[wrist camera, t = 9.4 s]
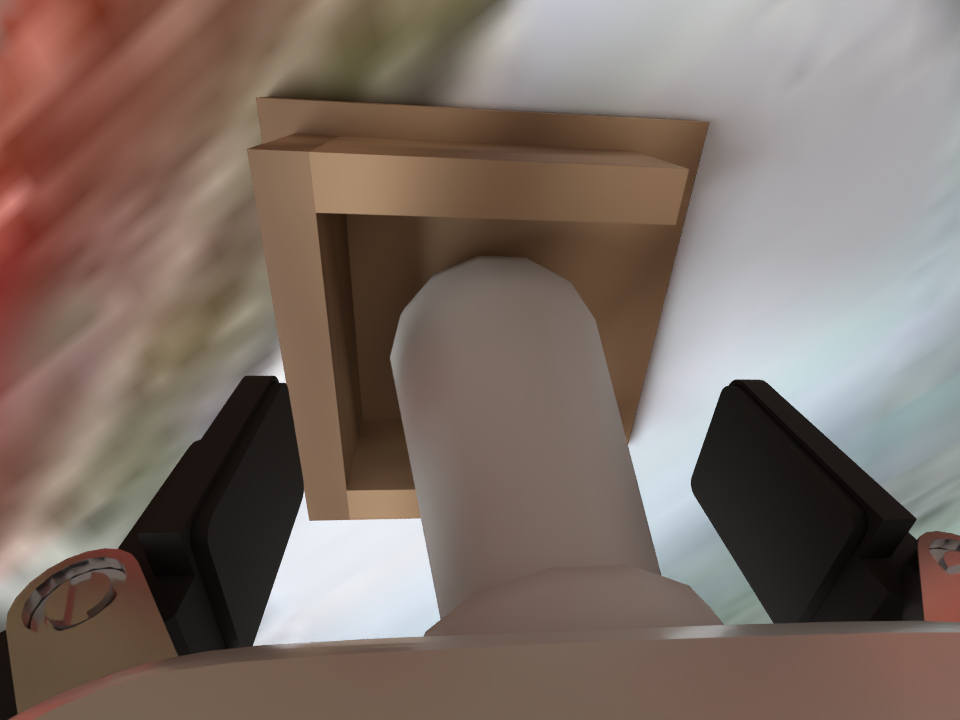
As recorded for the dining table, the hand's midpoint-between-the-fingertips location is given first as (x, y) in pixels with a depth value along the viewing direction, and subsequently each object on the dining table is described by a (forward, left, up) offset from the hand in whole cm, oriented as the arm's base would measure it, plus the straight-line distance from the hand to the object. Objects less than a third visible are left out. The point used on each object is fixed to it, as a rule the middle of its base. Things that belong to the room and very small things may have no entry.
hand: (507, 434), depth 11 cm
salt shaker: (0, 0, -6) cm, 6 cm away
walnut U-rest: (0, 0, -7) cm, 7 cm away
